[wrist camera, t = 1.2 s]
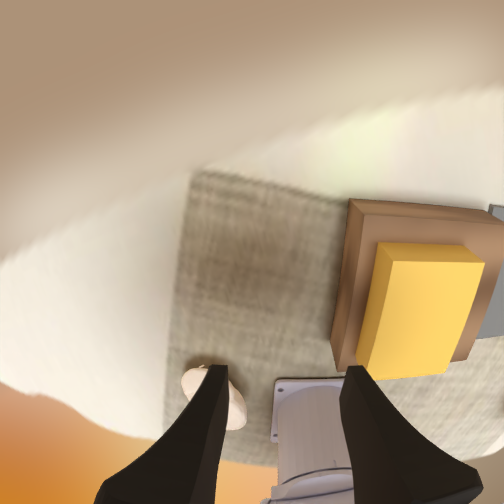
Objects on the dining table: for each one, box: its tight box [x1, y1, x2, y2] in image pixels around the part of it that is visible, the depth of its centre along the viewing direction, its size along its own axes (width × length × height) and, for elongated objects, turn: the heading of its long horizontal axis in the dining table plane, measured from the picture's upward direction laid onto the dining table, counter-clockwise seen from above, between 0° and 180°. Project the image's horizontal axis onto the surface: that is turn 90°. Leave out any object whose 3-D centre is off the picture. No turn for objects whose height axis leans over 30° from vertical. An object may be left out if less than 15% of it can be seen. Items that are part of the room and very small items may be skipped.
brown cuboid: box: [330, 199, 504, 372], centre depth 20 cm, size 11×11×4 cm
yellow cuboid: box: [355, 242, 485, 380], centre depth 17 cm, size 8×6×2 cm
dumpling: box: [181, 365, 247, 430], centre depth 24 cm, size 7×5×4 cm
